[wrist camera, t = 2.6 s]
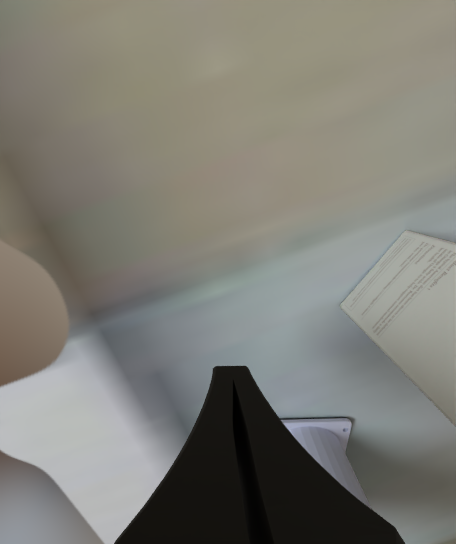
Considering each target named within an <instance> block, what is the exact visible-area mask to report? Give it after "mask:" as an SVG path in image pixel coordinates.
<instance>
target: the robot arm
mask: <svg viewBox="0 0 456 544" xmlns="http://www.w3.org/2000/svg"><path fill="white" fill-rule="evenodd" d="M351 427H352V423H351V421H350V420H349V419H348V418H334V419H296V420H280V418H279V417H278V416H277V414H276V413H275V412H274V410H273V409H272V407H271V406H270V404H269V403H268V401H267V400H266V399H265V397H264V396H263V394H262V392H261V391H260V389H259V387H258V386H257V384H256V382H255V380H254V379H253V377H252V375H251V373H250V371H249V369H248V367H247V366H216V367H214V368H213V374H212V380H211V384H210V387H209V390H208V393H207V396H206V399H205V402H204V404H203V407H202V409H201V412H200V414H199V416H198V418H197V421H196V423H195V425H194V427H193V429H192V431H191V433H190V435H189V437H188V439H187V441H186V443H185V444H184V446H183V448H182V450H181V451H180V453H179V455H178V456H177V458H176V460H175V461H174V463H173V465H172V466H171V468H170V469H169V471H168V473H167V474H166V476H165V477H164V479H163V480H162V481H161V483H160V484H159V486H158V487H157V488H156V490H155V491H154V493H153V494H152V495H151V497H150V498H149V500H148V501H147V502H146V504H145V505H144V506H143V508H142V509H141V510H140V512H139V513H138V514H137V515H136V516H135V518H134V519H133V520H132V521H131V523H130V524H129V525H128V526H127V528H126V529H125V530H124V531H123V532H122V534H121V535H120V536H119V537H118V539H117V540H116V541H115V543H114V544H405V542H404V541H403V539H402V538H401V536H400V535H399V533H398V531H397V530H396V528H395V527H394V526H393V525H391V524H390V523H389V522H387V521H386V520H385V519H383V518H382V517H381V516H379V515H378V514H377V513H376V512H374V511H373V510H372V508H371V506H370V504H369V502H368V500H367V498H366V495H365V493H364V491H363V489H362V487H361V485H360V483H359V481H358V479H357V477H356V475H355V472H354V470H353V468H352V466H351V464H350V462H349V460H348V458H347V456H346V454H345V452H346V447H347V443H348V439H349V435H350V431H351Z"/></svg>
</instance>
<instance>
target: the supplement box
mask: <svg viewBox="0 0 456 544" xmlns="http://www.w3.org/2000/svg"><path fill="white" fill-rule="evenodd" d="M340 308H341V309H342V310H343V311H344V312H345V313H346V314H347V315H348V316H349V317H350V318H351V319H352V320H353V321H354V322H355V323H356V324H357V325H358V326H359V328H360V329H361V330H362V331H363V332H364V333H365V334H366V335H367V336H368V337H369V338H370V339H371V340H372V341H373V342H374V343H375V344H376V345H377V346H378V347H379V348H380V349H381V350H382V351H383V352H384V353H385V354H386V355H387V356H388V357H389V358H390V360H391V361H392V362H393V363H394V364H395V365H396V366H397V367H398V368H399V369H400V370H401V371H402V372H403V373H404V374H405V375H406V376H407V377H408V378H409V379H410V380H411V381H412V382H413V383H414V384H415V385H416V386H417V387H418V388H419V389H420V390H421V391H422V392H423V393H424V394H425V395H426V397H427V398H428V399H429V400H430V401H431V402H432V403H433V404H434V405H435V406H436V407H437V408H438V409H439V410H440V411H441V412H442V413H443V414H444V415H445V416H446V417H447V418H448V419H449V420H450V421H451V422H452V423H453V424H454V425H455V426H456V243H454V242H450V241H446V240H443V239H439V238H434V237H430V236H427V235H423V234H420V233H416V232H412V231H408V230H405V231H404V232H403V234H402V235H401V236H400V237H399V238H398V239H397V241H396V242H395V243H394V244H393V245H392V246H391V247H390V249H389V250H388V251H387V252H386V253H385V254H384V256H383V257H382V258H381V259H380V260H379V261H378V262H377V264H376V265H375V266H374V267H373V268H372V269H371V270H370V272H369V273H368V274H367V275H366V276H365V277H364V278H363V280H362V281H361V282H360V283H359V284H358V285H357V286H356V288H355V289H354V290H353V291H352V292H351V293H350V294H349V296H348V297H347V298H346V299H345V300H344V301H343V302H342V303H341V305H340Z"/></svg>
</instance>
